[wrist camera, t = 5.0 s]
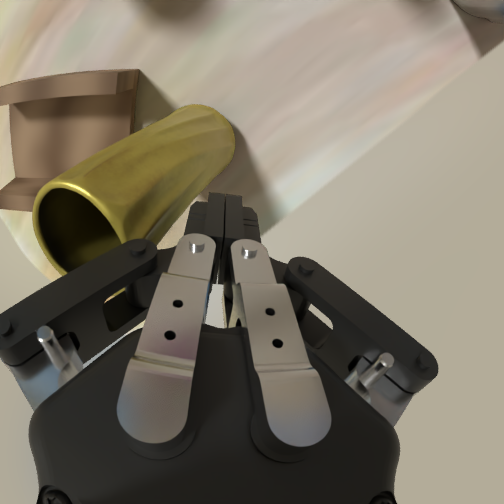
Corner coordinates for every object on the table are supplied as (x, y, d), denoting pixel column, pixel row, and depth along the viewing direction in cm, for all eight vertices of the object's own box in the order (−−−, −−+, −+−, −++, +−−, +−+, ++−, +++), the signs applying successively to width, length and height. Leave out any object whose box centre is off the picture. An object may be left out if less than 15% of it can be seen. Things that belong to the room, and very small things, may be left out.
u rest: (139, 69, 17) (117, 72, 13) (132, 193, 24) (115, 220, 20) (16, 81, 15) (-16, 92, 11) (22, 186, 21) (-2, 208, 18)
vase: (223, 188, 23) (141, 325, 11) (155, 165, 22) (36, 272, 11) (246, 117, 19) (152, 198, 8) (170, 96, 19) (18, 153, 7)
